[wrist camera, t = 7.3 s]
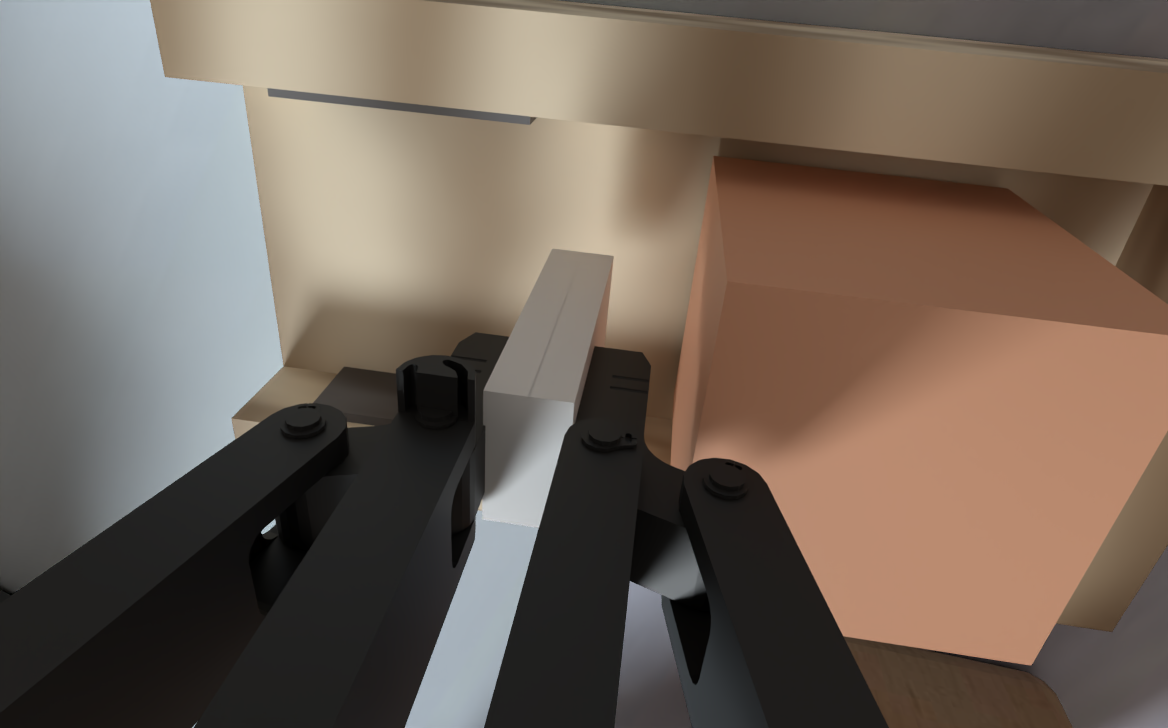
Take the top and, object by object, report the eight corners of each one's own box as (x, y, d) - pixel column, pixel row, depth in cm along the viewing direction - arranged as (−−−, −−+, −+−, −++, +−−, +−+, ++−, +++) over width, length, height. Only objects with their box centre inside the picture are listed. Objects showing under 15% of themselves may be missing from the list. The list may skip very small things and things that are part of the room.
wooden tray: (305, 402, 25) (223, 496, 20) (248, -30, 18) (110, -27, 14) (1032, 505, 23) (1111, 631, 19) (1251, 67, 17) (1449, 105, 12)
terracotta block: (673, 396, 21) (664, 608, 14) (713, 155, 18) (727, 281, 11) (917, 429, 21) (1030, 665, 14) (1007, 188, 17) (1219, 341, 10)
